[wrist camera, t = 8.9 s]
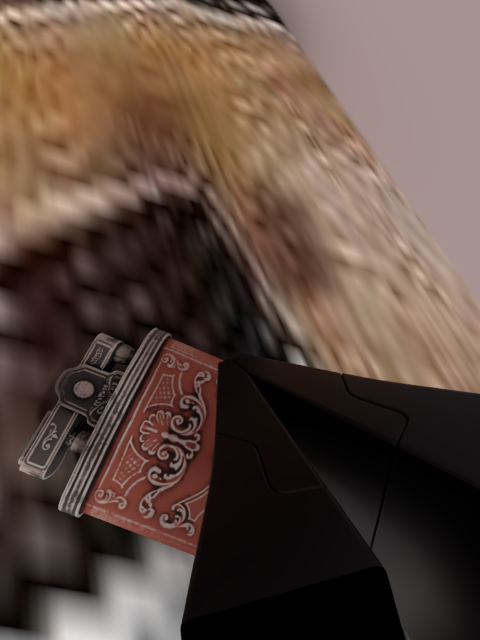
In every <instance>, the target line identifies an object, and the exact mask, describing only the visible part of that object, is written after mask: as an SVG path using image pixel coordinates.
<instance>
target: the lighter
mask: <svg viewBox="0 0 480 640" xmlns="http://www.w3.org/2000/svg"><path fill="white" fill-rule="evenodd" d="M171 338H172V336H171V334H169V333H166V332H164V331H162V330H159V329H157V328H154V329H153V330H151V331H150V333H149V334H148V335H147V336H146V338H145V339H144V341H143V342H142V344H141V346H140V347H139V349H138V351H137V352H136V351H135V350H134V349H133V348H132V347H130V346H129V345H127V344H124V342H123V341H120V340H118V339H116V338H113V337H111V336H108V335H106V334H104V333H100V334H99V335H98V336H97V337H96V338H95V340H94V341H93V343H92V345H91V346H90V348H89V350H88V351H87V353H86V355H85V356H84V358H83V360H82V362H81V363H80V365H79V366H77V367H75V368H69V369H66V370H65V371H64V372H62V373H61V375H60V376H59V378H58V380H57V381H56V383H55V392H56V394H57V395H58V397H59V401H58V402H57V404H56V406H55V407H54V409H53V410H49V411H48V412H47V413H46V415H45V417H44V418H43V420H42V422H41V423H40V425H39V427H38V429H37V430H36V432H35V434H34V435H33V437H32V439H31V440H30V442H29V444H28V445H27V447H26V449H25V450H24V452H23V454H22V455H21V457H20V459H19V461H18V463H19V464H21V466H20V471H22V472H25V473H28V474H30V475H33V476H35V477H38V478H40V479H43V480H45V479H47V478H49V477H50V476H51V475H53V474H54V473H55V471H56V470H57V469H58V467H59V466H60V464H61V462H62V461H63V459H64V457H65V455H66V453H67V451H68V450H69V448H70V447H71V450H72V451H75V452H77V453H80V454H81V456H80V458H79V461H78V463H77V465H76V467H75V469H74V471H73V473H72V476H71V478H70V480H69V482H68V484H67V486H66V488H65V490H64V493H63V495H62V497H61V500H60V502H59V508H58V510H60V511H63V512H66V513H68V514H71V515H74V516H76V517H80V516H81V515H82V514H83V513H86V514H88V515H91V516H93V517H96V518H99V519H101V520H104V521H106V522H109V523H112V524H114V525H117V526H119V527H122V528H125V529H127V530H130V531H132V532H135V533H138V534H140V535H143V536H145V537H148V538H151V539H153V540H156V541H158V542H161V543H164V544H166V545H169V546H171V547H174V548H177V549H179V550H182V551H184V552H187V553H190V554H192V555H195V554H196V549H197V544H198V539H199V534H200V529H201V524H202V519H203V514H204V509H205V504H206V499H207V494H208V489H209V483H210V477H211V471H212V463H213V452H214V435H215V419H216V396H217V373H218V363H219V362H221V361H224V360H221V359H219V358H217V357H214V356H212V355H210V354H207V353H205V352H202V351H200V350H198V349H195V348H193V347H190V346H188V345H186V344H183V343H181V342H179V341H176V340H174V339H171ZM115 363H118V364H127V365H129V366H128V368H127V369H126V371H125V372H122V371H117V370H115V371H114V372H112V373H111V371H112V369H113V367H114V365H115ZM86 417H87V423H88V424H89V425H90V426H93V427H95V429H94V431H93V433H92V434H91V433H89V432H86V431H82V432H79V429H80V428H81V426H82V424H83V422H84V420H85V418H86Z"/></svg>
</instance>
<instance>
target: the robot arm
mask: <svg viewBox="0 0 480 640" xmlns="http://www.w3.org/2000/svg"><path fill="white" fill-rule="evenodd" d="M401 624H402V626H403V628H404V630H405V631H406V633H407V635H408V637H409V639H410V640H480V394H478V393H470V392H462V391H455V390H447V389H440V388H432V387H425V386H417V385H410V384H403V383H396V382H389V381H382V380H376V379H371V378H365V377H360V376H354V375H349V374H344V373H343V374H342V375H341V374H340V373H337V372H332V371H327V370H322V369H317V368H312V367H307V366H302V365H297V364H292V363H287V362H282V361H277V360H272V359H267V358H262V357H257V356H252V355H247V354H239V355H237V356H234V357H232V358H231V359H226V360H224V361H221V362H219V363H218V373H217V396H216V419H215V435H214V452H213V463H212V471H211V477H210V483H209V489H208V494H207V499H206V504H205V509H204V514H203V519H202V524H201V529H200V534H199V539H198V544H197V549H196V554H195V559H194V564H193V569H192V574H191V579H190V584H189V589H188V594H187V599H186V604H185V609H184V614H183V619H182V624H181V639H182V640H405V637H404V633H403V629H402V626H401Z"/></svg>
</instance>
